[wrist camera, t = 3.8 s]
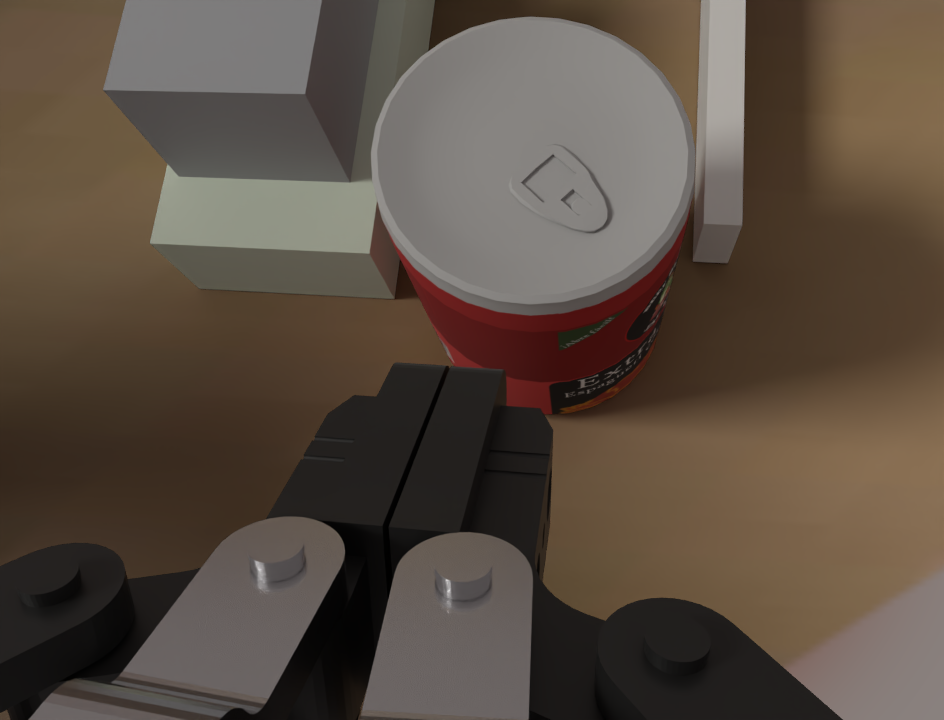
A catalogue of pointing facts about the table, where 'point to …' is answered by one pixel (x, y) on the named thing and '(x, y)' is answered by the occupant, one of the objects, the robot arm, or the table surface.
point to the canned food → (538, 203)
